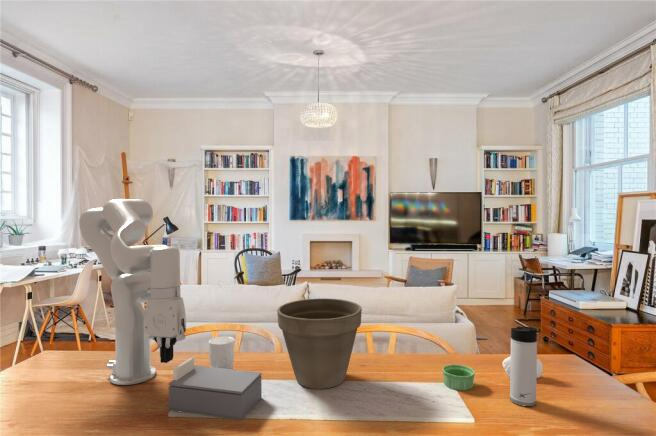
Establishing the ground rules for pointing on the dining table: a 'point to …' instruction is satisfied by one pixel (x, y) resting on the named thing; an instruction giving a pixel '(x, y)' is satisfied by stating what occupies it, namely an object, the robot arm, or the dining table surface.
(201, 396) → the box
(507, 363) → the bust
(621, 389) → the dining table surface
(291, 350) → the plant pot
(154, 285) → the robot arm
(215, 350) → the white cup
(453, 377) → the ramekin
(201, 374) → the mailer lid
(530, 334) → the travel mug
